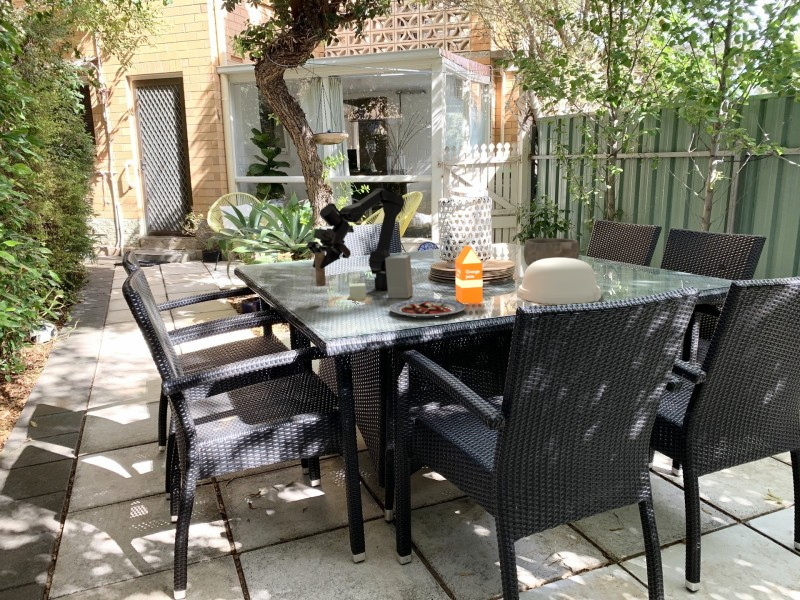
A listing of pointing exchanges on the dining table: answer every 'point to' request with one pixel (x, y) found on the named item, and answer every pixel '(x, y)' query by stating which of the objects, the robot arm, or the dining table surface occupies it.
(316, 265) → the peg
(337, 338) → the dining table surface
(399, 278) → the skincare box
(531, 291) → the dome cover
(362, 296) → the grey green block
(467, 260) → the orange juice
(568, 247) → the bowl
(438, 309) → the ceramic plate
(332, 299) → the board
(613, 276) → the dining table surface
